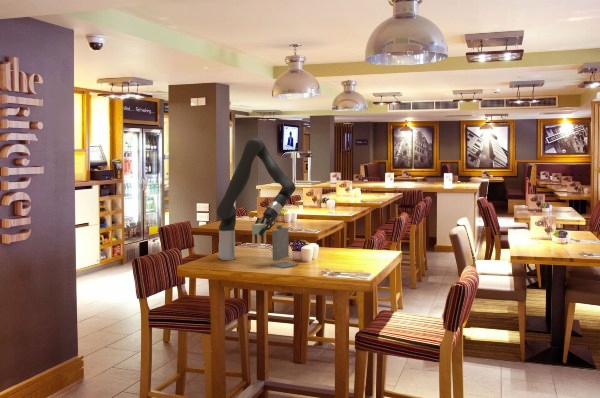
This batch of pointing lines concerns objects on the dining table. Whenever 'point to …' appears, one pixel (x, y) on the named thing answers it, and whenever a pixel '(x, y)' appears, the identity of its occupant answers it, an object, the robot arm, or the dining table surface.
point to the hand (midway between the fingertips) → (256, 234)
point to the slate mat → (284, 265)
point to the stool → (255, 230)
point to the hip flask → (280, 242)
